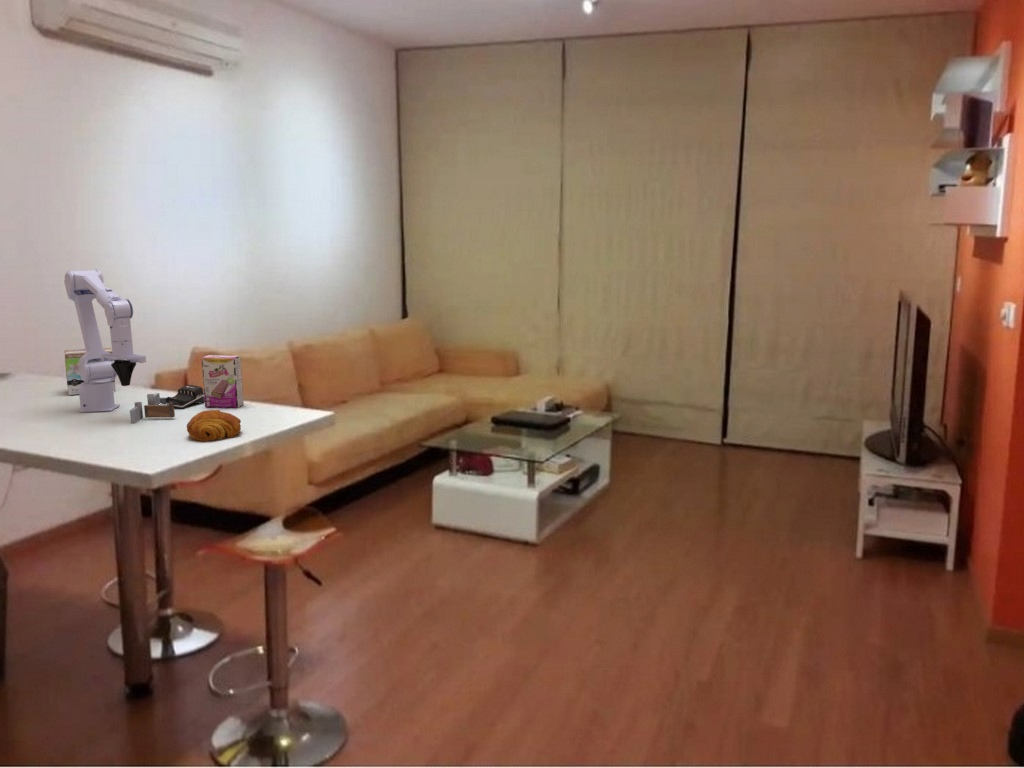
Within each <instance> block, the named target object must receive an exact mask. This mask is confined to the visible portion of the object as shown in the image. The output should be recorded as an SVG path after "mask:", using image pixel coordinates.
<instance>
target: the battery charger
mask: <svg viewBox="0 0 1024 768" xmlns="http://www.w3.org/2000/svg"><path fill="white" fill-rule="evenodd" d="M203 397H204V387H202V386H198V385H194V384H186V385H184V386H181V387H180V388H178V389H177V393H176V395H174V396H166V397H165V398H166V404H165V405H169V403H170V402H174V409H181V410H183V409H185V408H186V407H189V406H191V405H192V404H195V403H194V402H196V401H198V400H200V399H201V398H203Z"/></svg>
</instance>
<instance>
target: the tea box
mask: <svg viewBox="0 0 1024 768" xmlns="http://www.w3.org/2000/svg"><path fill="white" fill-rule="evenodd" d="M103 350H105V351H107V352H109V353H110V354H112V347H103ZM85 353H86V348H81V349H65V350H64V363H65V365H64V366H65V374H66V375H65V376H66V387H67V393H68V396H75V395H79V387H80V384H81V383H83V382H84V381H83V380H82V379H81V376H80V371H79V368H80V367H79V360H80V358H81V357H82V356H83V355H84V354H85ZM100 361H101V360H100ZM92 362H95V361H92ZM112 382H113V391H115V392H116V378H114V381H112Z"/></svg>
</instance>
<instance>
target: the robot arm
mask: <svg viewBox="0 0 1024 768" xmlns="http://www.w3.org/2000/svg"><path fill="white" fill-rule="evenodd" d="M64 287H65V291H66V295H67V298H68V299H69V300H70V301H73V303H74V306H75V310H76V314H77V319H78V322H79V327H80V330H81V331H80V332H81V335H82V339H83V344H84V347H85V348H84V349H86V353H85V354H84V355H83V356H82V357H81V358H80V360H79V367H80V368H79V371H80V376H81V379H82V380H83V381H84V382H83V383H81V384H80V387H79V394H78V395H79V405H80V410H79V412H80V413H90V412H91V413H92V412H94V413H95V412H111V411H113V410H115V409H116V408H118V407H120V404H115V392H113V382H112V381H114V378H115V379H116V378H117V377H118V379H119V382H120V385H121V387H129V386H130V385H131V381H132V375H133V372H134V370H135V367H136V365H137V363H139V364H144V363H146V362H147V357H146V355H141V354H134V349H133V347H134V346H133V337H132V336H133V334H132V325H131V319H132V318H133V316H134V308H133V304H132V302H131V300H130V299H128V298H125V299H124V298H122V297H121V296H119V294H118V293H117V292H116V291H115V290H114V289H112V288H111V287H106V285H105V284H104V276H103V273H102V272H101V271H100V270H99V269H98V268H97V269H93V270H92V269H88V270H87V269H86V270H85V269H84V270H67V271H66V272H65V274H64ZM94 300H96V303H97V304H99V305H100V306H101V308H102V309H103V310H104V315H105V318H106V323H107V326H109V333H110V343H111V345H110V346H111V350H112V354H110V353H109V352H107V351H105V350H103V348H104V347H103V344H102V339H101V335H100V331H99V326H98V321H97V317H96V313H95V310H94V305H93V301H94ZM100 360H101V361H100ZM92 361H95V362H92Z"/></svg>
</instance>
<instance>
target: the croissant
mask: <svg viewBox="0 0 1024 768" xmlns="http://www.w3.org/2000/svg"><path fill="white" fill-rule="evenodd" d="M241 422H242V420H241V419H240V418H239V417H237V416H236V415H233V414H231V413H229V412H224V411H221V410H220V409H214V410H213V409H212V410H211V409H210V410H202V411H201V412H198V413H197V414H196V415H194V416H192V417H191V419H190V420H189V421H188V422H187V424H186V431H187V433H188V435H189V436H190V437H191V438H192V439H193V440H195V439H196V441H201V442H210V441H209V440H211V441H217V440H223V439H231V438H234V437H235V436H237V435H238V434H239V433H240V431H241V428H242V425H241Z"/></svg>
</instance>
